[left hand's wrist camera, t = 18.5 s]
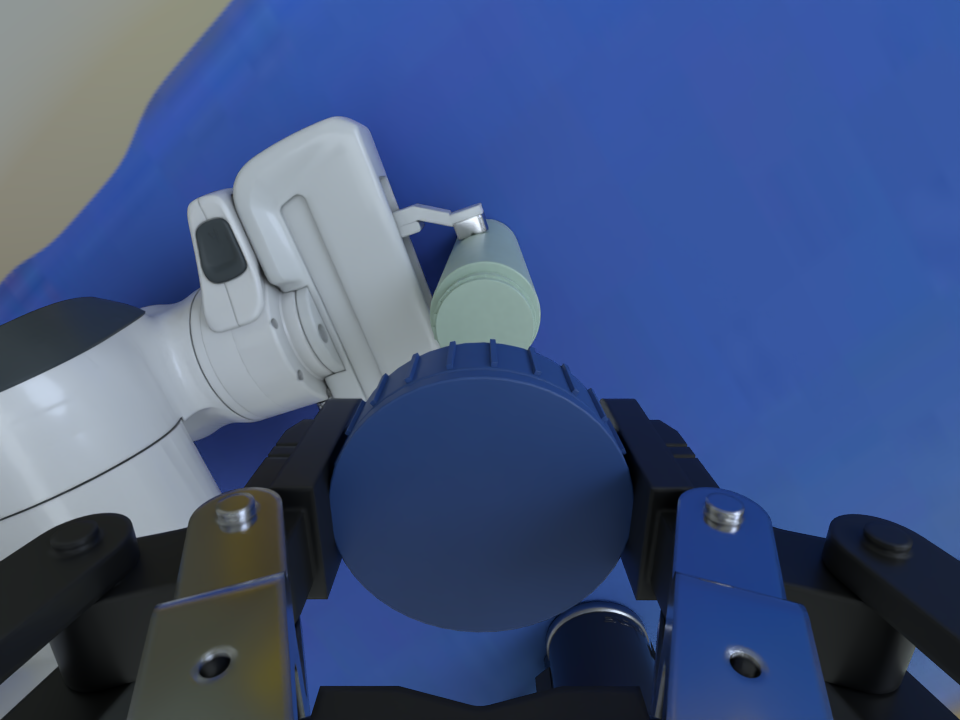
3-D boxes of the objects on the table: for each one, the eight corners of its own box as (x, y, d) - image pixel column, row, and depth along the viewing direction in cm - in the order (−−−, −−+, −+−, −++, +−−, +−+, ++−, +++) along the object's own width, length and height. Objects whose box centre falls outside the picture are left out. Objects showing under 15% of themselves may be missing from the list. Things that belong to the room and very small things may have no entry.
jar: (515, 215, 35) (539, 261, 19) (521, 280, 37) (549, 376, 20) (449, 223, 36) (415, 276, 19) (458, 287, 37) (435, 389, 21)
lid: (325, 537, 11) (298, 601, 10) (378, 302, 9) (357, 331, 8) (561, 591, 12) (575, 661, 10) (656, 379, 10) (691, 422, 8)
